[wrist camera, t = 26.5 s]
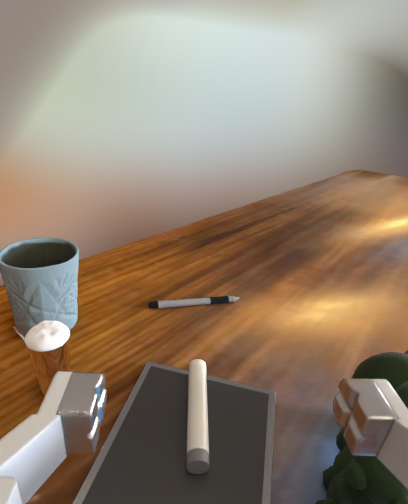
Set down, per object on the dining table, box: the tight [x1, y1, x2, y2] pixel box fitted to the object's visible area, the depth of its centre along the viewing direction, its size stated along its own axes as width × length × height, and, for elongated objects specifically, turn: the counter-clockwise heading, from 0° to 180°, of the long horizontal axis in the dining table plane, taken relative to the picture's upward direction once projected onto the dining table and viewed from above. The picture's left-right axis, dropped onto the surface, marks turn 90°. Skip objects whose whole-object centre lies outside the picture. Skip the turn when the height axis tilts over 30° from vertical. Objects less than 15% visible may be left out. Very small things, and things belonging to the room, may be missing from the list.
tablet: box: [73, 361, 275, 504], centre depth 33 cm, size 24×17×1 cm
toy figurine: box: [316, 351, 408, 504], centre depth 31 cm, size 9×19×25 cm
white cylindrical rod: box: [186, 359, 209, 474], centre depth 38 cm, size 2×2×13 cm
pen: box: [148, 295, 241, 308], centre depth 59 cm, size 1×16×1 cm, turn 105°
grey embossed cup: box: [0, 238, 79, 337], centre depth 49 cm, size 10×10×12 cm
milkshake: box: [13, 320, 70, 397], centre depth 39 cm, size 4×5×10 cm
